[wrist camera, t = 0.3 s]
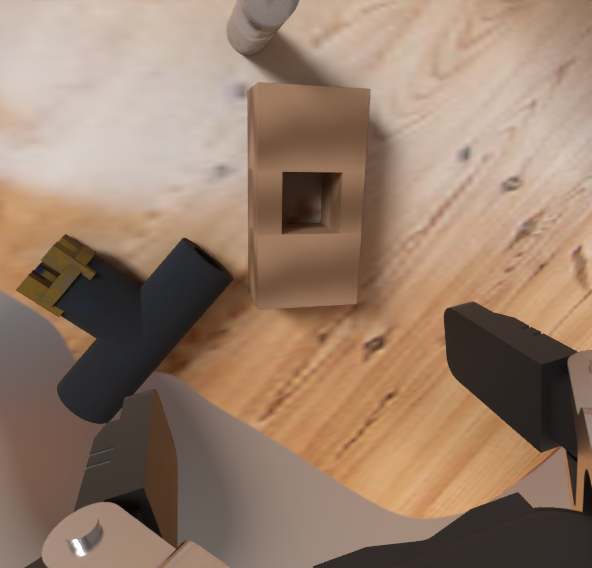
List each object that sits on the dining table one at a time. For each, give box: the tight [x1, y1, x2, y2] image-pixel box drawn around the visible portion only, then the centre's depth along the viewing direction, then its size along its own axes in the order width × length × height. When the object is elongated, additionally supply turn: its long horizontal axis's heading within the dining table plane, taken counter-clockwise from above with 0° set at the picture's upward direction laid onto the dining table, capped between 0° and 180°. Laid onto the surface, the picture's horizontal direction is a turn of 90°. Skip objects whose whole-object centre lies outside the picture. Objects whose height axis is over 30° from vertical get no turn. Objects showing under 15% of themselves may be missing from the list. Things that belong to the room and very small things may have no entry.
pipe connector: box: [16, 234, 233, 424], centre depth 35 cm, size 12×5×15 cm
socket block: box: [248, 82, 370, 310], centre depth 36 cm, size 16×8×5 cm, turn 179°
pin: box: [227, 0, 299, 55], centre depth 29 cm, size 3×3×10 cm
